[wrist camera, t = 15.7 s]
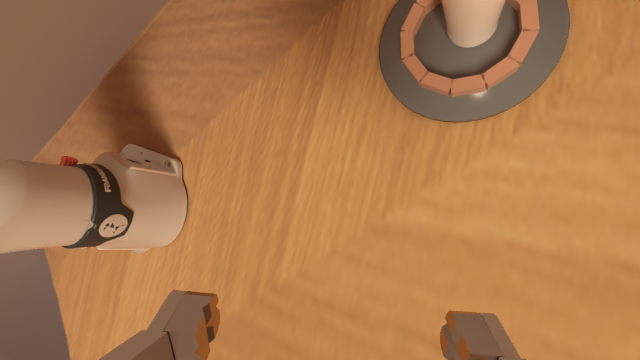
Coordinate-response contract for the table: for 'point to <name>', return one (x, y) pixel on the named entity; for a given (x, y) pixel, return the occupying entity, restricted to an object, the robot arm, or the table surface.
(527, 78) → the round tray
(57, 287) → the table surface
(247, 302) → the table surface
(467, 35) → the drinking glass
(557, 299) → the table surface
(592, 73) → the table surface
